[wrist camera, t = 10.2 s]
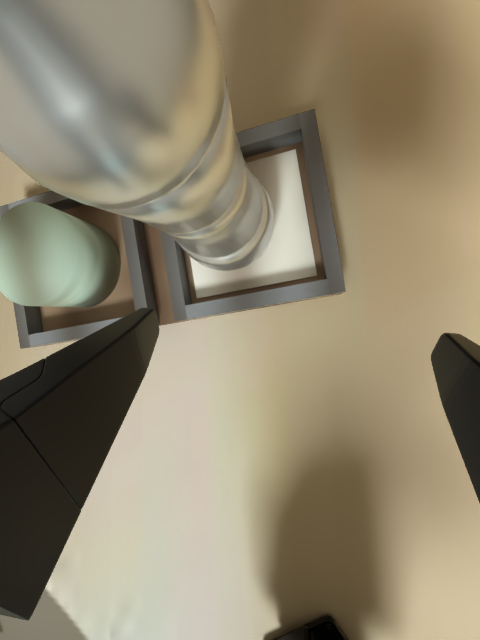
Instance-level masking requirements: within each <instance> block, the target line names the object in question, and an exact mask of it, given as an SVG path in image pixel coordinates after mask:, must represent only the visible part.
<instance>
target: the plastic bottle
mask: <svg viewBox="0 0 480 640" xmlns="http://www.w3.org/2000/svg"><path fill="white" fill-rule="evenodd" d="M0 151H1V152H3V153H4V154H5V155H6V156H7V157H8V158H9V159H10V160H11V161H13V162H14V163H15V164H16V165H17V166H18V167H19V168H20V169H22V170H23V171H24V172H25V173H26V174H27V175H29V176H30V177H31V178H33V179H34V180H35V181H36V182H38V183H39V184H40V185H42V186H43V187H45V188H47V189H50V190H52V191H54V192H56V193H58V194H60V195H63V196H65V197H68V198H70V199H73V200H75V201H78V202H80V203H83V204H85V205H89V206H93V207H95V208H99V209H102V210H105V211H109V212H112V213H115V214H119V215H122V216H125V217H129V218H132V219H135V220H139V221H142V222H144V223H146V224H148V225H150V226H152V227H155V228H157V229H159V230H161V231H163V232H165V233H167V234H168V235H169V236H170V237H172V238H173V239H174V240H175V241H177V242H178V244H179V245H180V246H181V247H182V248H183V250H184V251H185V252H186V253H187V254H188V255H189V256H190V257H191V258H192V259H194V260H195V261H197V262H198V263H199V264H201V265H203V266H205V267H207V268H210V269H214V270H221V271H230V270H237V269H242V268H244V267H247V266H249V265H251V264H252V263H254V262H255V261H256V260H257V259H259V258H260V257H261V256H262V255H263V253H264V252H265V250H266V249H267V247H268V245H269V243H270V240H271V237H272V232H273V228H274V210H273V205H272V202H271V200H270V197H269V195H268V193H267V192H266V190H265V189H264V187H263V186H262V184H261V183H260V181H259V180H258V179H257V178H256V177H255V176H254V175H253V174H252V173H251V171H250V169H249V167H248V166H247V164H246V162H245V160H244V159H243V155H242V152H241V150H240V145H239V142H238V138H237V135H236V132H235V128H234V125H233V119H232V112H231V106H230V99H229V93H228V87H227V80H226V75H225V66H224V60H223V54H222V49H221V44H220V40H219V36H218V33H217V28H216V24H215V19H214V15H213V12H212V9H211V7H210V4H209V2H208V0H0Z"/></svg>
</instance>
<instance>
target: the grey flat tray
mask: <svg viewBox="0 0 480 640" xmlns="http://www.w3.org/2000/svg"><path fill="white" fill-rule="evenodd" d="M236 135H237V138H238V142H239V145H240V150H241V152H242V155H243V159H244V160H245V162H246V164H247V166H248V167H249V169H250V171H251V173H252V174H253V175H254V176H255V177H256V178H257V179H258V180H259V181H260V183H261V184H262V186H263V187H264V189H265V190H266V192H267V193H268V195H269V197H270V200H271V202H272V205H273V210H274V228H273V232H272V237H271V240H270V243H269V245H268V247H267V249H266V250H265V252H264V253H263V255H262V256H261V257H260V258H259V259H257V260H256V261H255V262H254V263H252V264H251V265H249V266H247V267H244V268H242V269H237V270H230V271H221V270H214V269H210V268H207V267H205V266H203V265H201V264H199V263H198V262H197V261H195V260H194V259H192V258H191V257H190V256H189V255H188V254H187V253H186V252H185V251H184V250H183V248H182V247H181V246H180V245H179V244H178V242H177V241H175V240H174V239H173V238H172V237H170V236H169V235H168V234H167V233H165V232H163V231H161V230H159V229H157V228H155V227H152V226H150V225H148V224H146V223H144V222H142V221H139V220H135V219H132V218H129V217H125V216H122V215H119V214H115V213H112V212H109V211H105V210H102V209H99V208H95V207H93V206H89V205H85V204H83V203H80V202H78V201H75V200H73V199H70V198H68V197H65V196H63V195H60V194H58V193H56V192H54V191H49V192H45V193H42V194H39V195H36V196H33V197H29V198H26V199H23V200H20V201H17V202H13V203H10V204H7V205H4V206H0V291H1V292H2V293H3V294H4V295H5V296H6V297H7V298H8V299H10V300H11V301H13V303H14V310H15V316H16V323H17V329H18V336H19V342H20V348H29V347H38V346H46V345H52V344H57V343H63V342H69V341H74V340H80V339H82V338H84V337H86V336H88V335H90V334H92V333H94V332H96V331H98V330H100V329H102V328H104V327H105V326H107V325H109V324H111V323H113V322H115V321H117V320H119V319H121V318H123V317H125V316H127V315H129V314H130V313H132V312H134V311H136V310H138V309H140V308H153V309H154V310H155V311H156V315H157V320H158V325H159V326H160V325H166V324H171V323H177V322H183V321H189V320H194V319H200V318H206V317H211V316H217V315H223V314H229V313H234V312H240V311H246V310H251V309H257V308H263V307H269V306H274V305H280V304H286V303H291V302H297V301H303V300H308V299H314V298H320V297H326V296H331V295H337V294H342V293H343V292H345V285H344V279H343V273H342V267H341V261H340V256H339V250H338V244H337V238H336V232H335V226H334V220H333V215H332V209H331V203H330V197H329V191H328V185H327V179H326V174H325V168H324V162H323V156H322V150H321V144H320V138H319V133H318V127H317V121H316V115H315V109H312V110H309V111H306V112H303V113H299V114H296V115H293V116H290V117H287V118H283V119H280V120H277V121H274V122H271V123H267V124H264V125H261V126H258V127H254V128H251V129H248V130H245V131H242V132H238V133H236Z"/></svg>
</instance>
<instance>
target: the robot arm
mask: <svg viewBox="0 0 480 640" xmlns="http://www.w3.org/2000/svg"><path fill="white" fill-rule="evenodd" d="M158 335H159V325H158V320H157V315H156V311H155V310H154V309H153V308H140V309H138V310H136V311H134V312H132V313H130V314H129V315H127V316H125V317H123V318H121V319H119V320H117V321H115V322H113V323H111V324H109V325H107V326H105V327H104V328H102V329H100V330H98V331H96V332H94V333H92V334H90V335H88V336H86V337H84V338H82V339H80V340H79V341H77V342H75V343H73V344H71V345H69V346H67V347H65V348H63V349H61V350H59V351H57V352H55V353H53V354H52V355H50V356H48V357H46V359H42V360H40V361H38V362H36V363H34V364H32V365H30V366H28V367H26V368H24V369H22V370H20V371H18V372H16V373H14V374H12V375H10V376H8V377H6V378H4V379H2V380H0V615H4V616H9V617H13V618H18V619H22V620H29V619H30V617H31V615H32V614H33V612H34V610H35V608H36V606H37V604H38V601H39V599H40V597H41V595H42V593H43V591H44V589H45V587H46V585H47V582H48V580H49V578H50V576H51V574H52V572H53V570H54V568H55V565H56V563H57V561H58V559H59V557H60V555H61V553H62V551H63V548H64V546H65V544H66V542H67V540H68V538H69V536H70V534H71V531H72V529H73V527H74V525H75V523H76V521H77V519H78V517H79V514H80V512H81V509H82V508H83V506H84V503H85V501H86V499H87V497H88V495H89V493H90V491H91V489H92V486H93V484H94V482H95V480H96V478H97V476H98V474H99V472H100V469H101V467H102V465H103V463H104V461H105V459H106V457H107V455H108V452H109V450H110V448H111V446H112V444H113V442H114V440H115V438H116V435H117V433H118V431H119V429H120V427H121V425H122V423H123V421H124V418H125V416H126V414H127V412H128V410H129V408H130V406H131V404H132V401H133V399H134V397H135V395H136V393H137V391H138V389H139V387H140V384H141V382H142V380H143V378H144V376H145V373H146V371H147V368H148V365H149V362H150V359H151V356H152V353H153V350H154V347H155V344H156V341H157V338H158ZM431 362H432V366H433V370H434V374H435V378H436V382H437V386H438V390H439V394H440V398H441V402H442V405H443V408H444V411H445V413H446V416H447V419H448V421H449V424H450V426H451V429H452V432H453V434H454V437H455V440H456V442H457V445H458V447H459V450H460V453H461V455H462V458H463V461H464V463H465V466H466V468H467V471H468V474H469V476H470V479H471V482H472V484H473V487H474V489H475V492H476V495H477V497H478V500H479V503H480V346H479V345H477V344H476V343H474V342H472V341H471V340H469V339H467V338H466V337H464V336H462V335H460V334H455V333H444V334H442V335H441V336H440V338H439V340H438V342H437V344H436V346H435V348H434V350H433V352H432V354H431ZM327 624H330V626H329V625H327ZM275 640H348V639H347V637H346V636H345V634H344V633H343V631H342V630H341V628H340V627H339V625H338V624H337V622H336V621H335V619H334V618H333V617H331V616H328V615H327V616H324V617H321V618H319V619H317V620H315V621H313V622H311V623H309V624H307V625H305V626H303V627H300V628H298V629H296V630H294V631H292V632H290V633H288V634H286V635H284V636H282V637H279V638H277V639H275Z"/></svg>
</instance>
